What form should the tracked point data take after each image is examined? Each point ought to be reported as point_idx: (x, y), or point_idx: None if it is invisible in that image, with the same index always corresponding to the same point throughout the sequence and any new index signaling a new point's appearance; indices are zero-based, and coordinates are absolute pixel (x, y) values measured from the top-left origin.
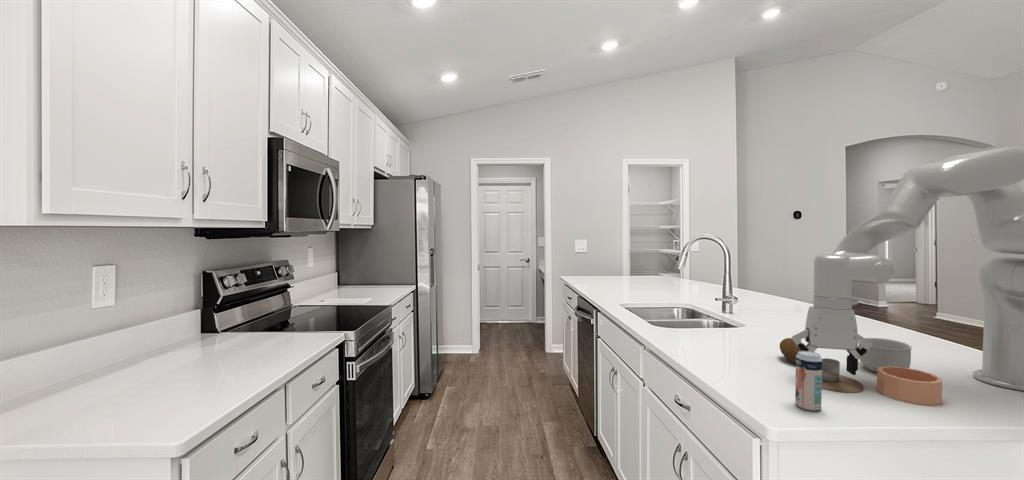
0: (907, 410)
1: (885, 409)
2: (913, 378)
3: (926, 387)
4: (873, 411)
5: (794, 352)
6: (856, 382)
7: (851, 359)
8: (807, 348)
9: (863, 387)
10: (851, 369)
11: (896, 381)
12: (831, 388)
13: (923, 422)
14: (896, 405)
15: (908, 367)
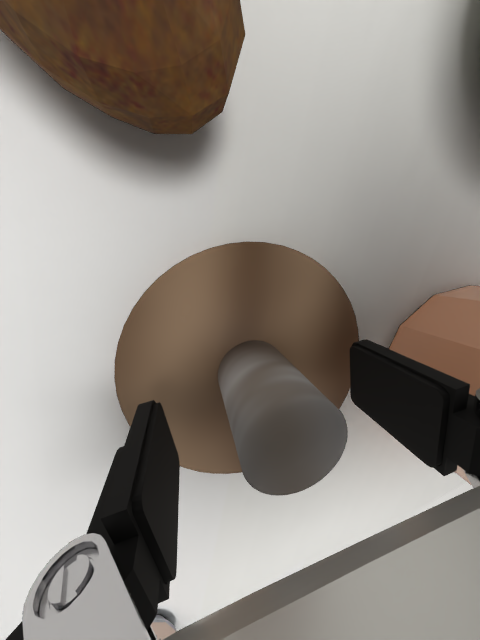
0: (380, 486)
1: (334, 512)
2: None
3: None
4: (301, 543)
5: (3, 12)
6: (344, 348)
7: (431, 456)
8: (87, 634)
9: (346, 395)
10: (369, 408)
11: (460, 475)
12: (234, 471)
13: (376, 533)
14: (372, 468)
15: None
